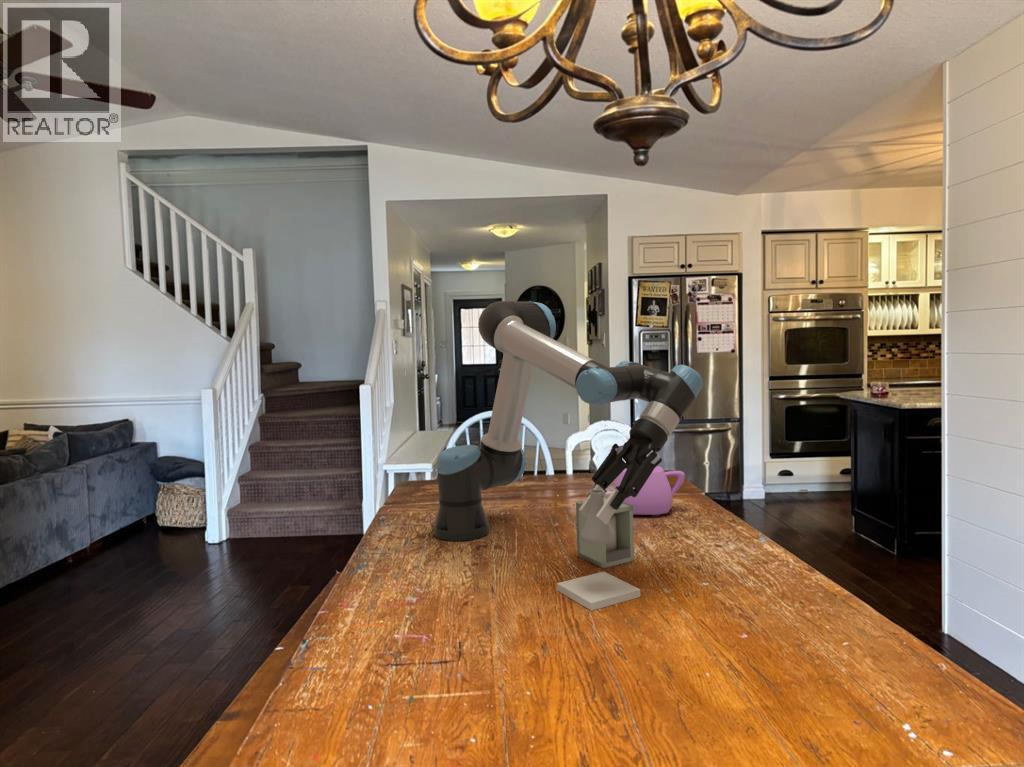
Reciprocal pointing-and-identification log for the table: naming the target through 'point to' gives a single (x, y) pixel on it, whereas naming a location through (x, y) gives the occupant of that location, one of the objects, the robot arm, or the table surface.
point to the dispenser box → (616, 550)
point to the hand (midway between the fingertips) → (592, 516)
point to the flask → (596, 521)
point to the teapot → (654, 492)
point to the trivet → (598, 590)
